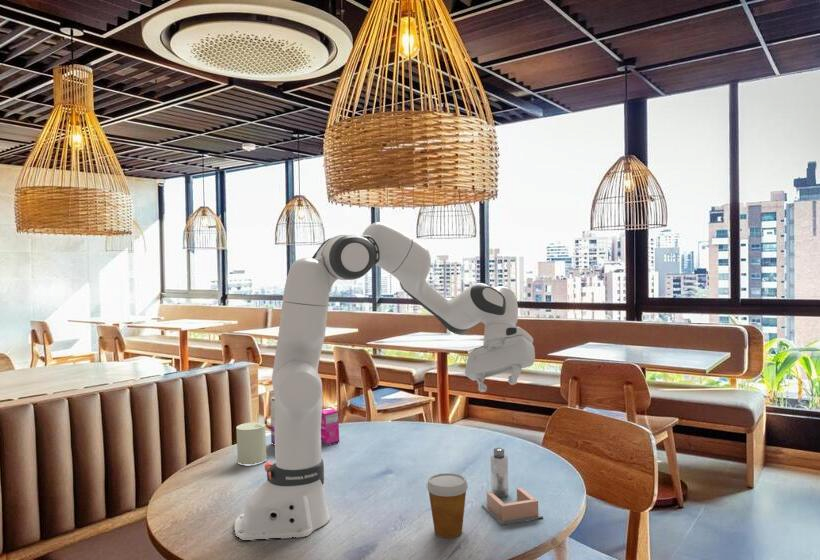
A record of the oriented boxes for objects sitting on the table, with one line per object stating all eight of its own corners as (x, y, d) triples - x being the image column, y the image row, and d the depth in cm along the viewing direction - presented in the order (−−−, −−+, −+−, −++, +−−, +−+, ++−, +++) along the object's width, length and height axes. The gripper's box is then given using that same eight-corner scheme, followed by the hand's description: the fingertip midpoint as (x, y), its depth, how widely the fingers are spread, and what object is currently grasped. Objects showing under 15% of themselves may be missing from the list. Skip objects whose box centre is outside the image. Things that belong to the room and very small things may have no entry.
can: (259, 466, 176) (258, 428, 176) (231, 466, 178) (230, 428, 178) (271, 457, 186) (270, 420, 185) (245, 456, 187) (243, 420, 187)
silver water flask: (495, 498, 147) (494, 453, 147) (488, 492, 152) (487, 447, 151) (511, 496, 148) (510, 451, 148) (504, 490, 153) (503, 446, 153)
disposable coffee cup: (466, 521, 135) (464, 471, 134) (471, 540, 125) (470, 486, 125) (426, 523, 134) (424, 472, 134) (428, 542, 125) (427, 488, 125)
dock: (500, 525, 132) (500, 508, 132) (482, 506, 143) (481, 490, 143) (543, 518, 135) (542, 501, 135) (521, 500, 146) (521, 485, 146)
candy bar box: (298, 447, 195) (297, 400, 194) (285, 451, 191) (284, 402, 191) (283, 440, 203) (282, 395, 203) (270, 443, 200) (269, 397, 200)
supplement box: (316, 442, 200) (315, 410, 199) (331, 439, 204) (330, 407, 203) (325, 446, 195) (324, 413, 195) (340, 442, 199) (339, 410, 199)
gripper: (462, 345, 158) (457, 390, 150) (525, 325, 145) (523, 373, 137) (476, 355, 161) (472, 399, 153) (538, 337, 149) (537, 384, 140)
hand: (497, 387), depth 145 cm, fingers open, 8 cm apart
